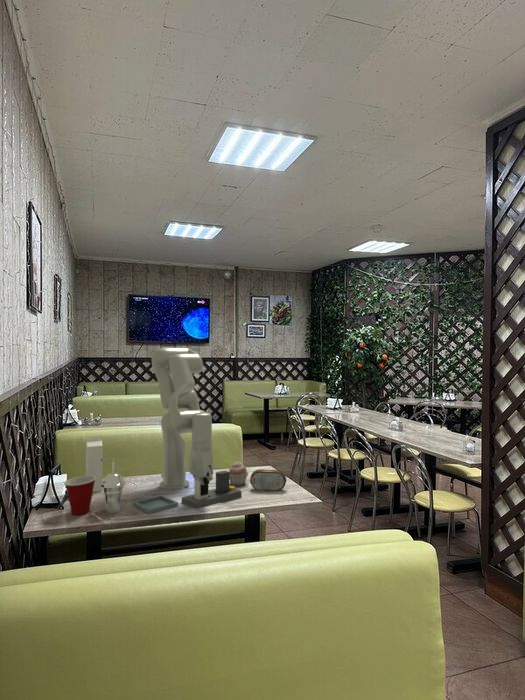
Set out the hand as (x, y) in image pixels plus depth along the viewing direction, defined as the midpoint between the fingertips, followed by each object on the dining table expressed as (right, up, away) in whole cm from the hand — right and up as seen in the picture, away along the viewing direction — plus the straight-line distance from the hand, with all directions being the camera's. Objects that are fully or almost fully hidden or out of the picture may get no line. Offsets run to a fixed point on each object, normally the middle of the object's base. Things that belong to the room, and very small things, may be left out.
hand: (201, 493), depth 171 cm
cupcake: (+12, -4, +25) cm, 28 cm away
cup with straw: (-31, -4, -9) cm, 32 cm away
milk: (-47, -4, +16) cm, 49 cm away
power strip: (+4, -4, +3) cm, 6 cm away
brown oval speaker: (+26, -4, +17) cm, 31 cm away
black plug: (+7, -4, +7) cm, 11 cm away
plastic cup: (-42, -4, -10) cm, 44 cm away
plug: (0, -3, 0) cm, 3 cm away
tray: (-16, -4, -4) cm, 17 cm away
